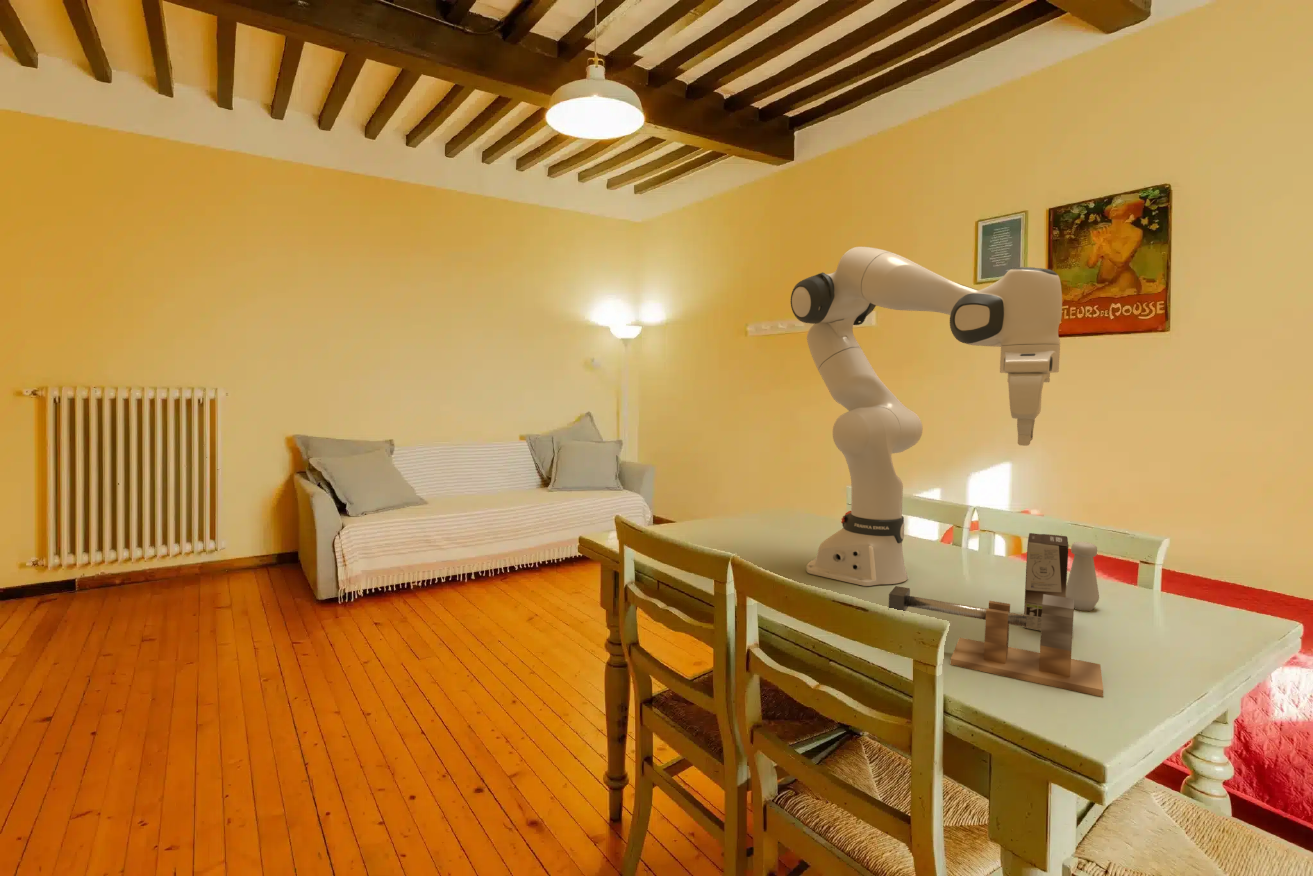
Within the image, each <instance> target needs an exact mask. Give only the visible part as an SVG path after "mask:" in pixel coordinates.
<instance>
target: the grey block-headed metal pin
mask: <svg viewBox="0 0 1313 876" xmlns="http://www.w3.org/2000/svg"><path fill="white" fill-rule="evenodd" d="M889 608H894V609H897V610H903V611H905V612H906V611H907V609H908V608H915V609H920V610H927V611H931V612H936V613H937V612H938V613H945V614H950V615H955V616H960V617H967V618H973V619H978V620H985V621H986V609H987V608H984V607H979V606H971V605H967V604H962V603H961V604H960V603H955V602H950V601H949V602H948V601H942V600H936V599H931V598H926V597H919V596H912V595H911V588H910V587H904V586H900V585H899V586H898V585H895V586H894V587H893V589H892V590H891V591H890V592H889V594H888V609H889ZM1008 624H1009V625H1013V626H1019V627H1023V628H1024V627H1026V624H1027V615H1024V614H1021V613H1014V612H1011V611H1010V612H1008Z"/></svg>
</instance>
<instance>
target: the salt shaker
mask: <svg viewBox="0 0 1313 876" xmlns="http://www.w3.org/2000/svg"><path fill="white" fill-rule="evenodd" d="M1070 551H1071V554H1073V555H1074V557H1073V559H1072V564H1071V568H1070V571H1069V575H1068V577H1067V585H1066V598H1072V599H1074V608H1075V609H1074V610H1077V611H1083V610H1084V611H1086V612H1091V611H1093V610H1094V608H1095V607H1096V605H1097V604H1098V603H1099V601H1100V594H1099V587H1098V580H1097V573H1096V567H1095V561H1094V557H1096V556H1097V555H1098V554H1097V553H1098V547H1097V546H1096V545H1095V544H1094V543H1092V542H1087V541H1075V542H1073V543H1072V544H1071V549H1070Z"/></svg>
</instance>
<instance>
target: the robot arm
mask: <svg viewBox="0 0 1313 876" xmlns="http://www.w3.org/2000/svg"><path fill="white" fill-rule="evenodd" d="M790 307H791V310H792V313H793V315H794V316H795V318H796V319H797V320H798V321H799V322H802V323H805V324H809V325H810V324H811V325H812V324H813V325H812V326H811V327H810V328H809V330H808V331H807V334H806V341H807V346H808V349H809V352H810V355H811V358H812V359H813V362H814V364H815V366H816V369H817V371H818V373H819V375H820V376H821V378H822V381H823V383H824V384H825V386H826V387H827V389H828V391H829V394H830V395H831V397H832V399H833V400H835V402H837V403H838V404H840V405H841V406H842V407H844V408H845V409H846V410H847V411H846V412H844V413H843V414H841V415H839V416H838V418H837V419H836V420H835V422H834V424H833V427H832V439H833V443H834V444H835V446H836V448H837V449H838V450H839V451H840V452H841V453H842V455H843V457H844V458H845V461H846V464H847V467H848V471H849V477H850V481H851V504H850V505H851V507H850V509H851V510H848V511H846V512H845V514H844V515H843V516H842V518H841V521H840V522H841V525H842V527H843V528H841V529H839V530H838V531H836V532H835V533H833V534H831V536H829V537H828V538H826V539H825V540H823V541H822V542H821V543H820V544H819V547H818V549H817V553H816V558H814V559H812V560H811V561H809V562H808V563H807V564H806V569H805V570H806V572H807V574H809V575H814V576H819V577H823V578H828V579H832V580H837V581H842V582H846V583H849V584H853V585H854V584H855V585H860V586H863V587H871V586H876V585H892V584H893V585H894V584H900V583H903V582H905V581H907V580H908V578H909V577H908V573H907V570H906V566H905V559H904V551H903V542H904V538H905V518H904V516H903V494H904V493H903V491H904V489H903V488H904V484H903V481H902V480H901V478H900V477H899V476H898V475H897V473H896V470H895V468H894V464H893V459H892V454H898V453H899V454H900V453H903V452H905V451H907V450H908V449H910V448H913V446H915V445H916V444H917V443H919V441H920V440H921V437H922V435H923V423H922V420H921V418H920V417H919V415H918V414H917V413H916V412H914V411H913V410H911V409H909V408H908V407H907V406H906V405H904V404H903V403H902V401H900V400H899V399H898V397H896V395H895V394H894V393H893V392H892V391H891V390H890V389H889V388H888V387H887V385H886V384H885V383H884V382H883V381H882V380H881V378H880V377H879V376H878V374H877V373H876V371H875V369H874V368H873V365H871V363H870V361H869V359H868V357H867V356H866V354H865V351H863V349H862V347H861V346H860V343H859V342H858V341H857V339H856V336H855V335H854V331H853V328H854V326H859V325H862V324H863V323H864V322H865V321H866V318H867V316H869V315H870V314H871V313H872V312H873V311H874V310H875V309H876V307H879V308H884V309H887V310H888V309H890V310H895V311H911V312H912V311H915V312H931V313H932V312H933V313H941V314H945V315H947V316H948V315H949V329H950V332H951V334H952V335H953V337H954V338H955V339H956V340H957V341H958V342H959V343H960V342H961V343H963V344H966V345H969V346H981V347H993V348H994V347H998V348H1000V360H999V373H1001V374H1007V384H1008V399H1009V410H1010V416H1011V418H1012V419H1016V420H1017V421H1016V427H1017V428H1016V429H1017V430H1016V431H1017V444H1018V445H1019V446H1026V447H1027V446H1030V444H1031V441H1032V440H1033V439H1034V428H1035V424H1036V422H1035V421H1036V419H1037V418H1038V416H1039V414H1041V409H1042V394H1043V393H1042V392H1043V386H1044V383H1050V382H1051V379H1050V377H1051V373H1059V372H1060V359H1061V358H1060V355H1061V341H1060V336H1059V326H1060V323H1061V321H1062V317H1063V293H1062V283H1061V278H1060V276H1059V274H1058V273H1057V272H1055V271H1054V270H1051V269H1049V268H1043V267H1039V268H1038V267H1031V266H1030V267H1029V266H1028V267H1026V266H1021V267H1020V266H1018V267H1014V268H1011V269H1009V270H1008V271H1007V272H1006V273H1005V274H1004V275H1003V276H1002V277H1001V278H1000V279H998V280H997V281H995V282H994V283H991V284H990V285H988V286H986V287H983V288H981V289H976V288H972V287H969V286H966V285H965V284H960V283H959V282H955V281H953V280H950V279H949V278H946V277H944V276H942V275H941V274H938V273H936V272H934V271H932V270H930V269H929V268H926V267H924V266H923V265H920V263H917V262H914V261H913V260H910V259H909V258H907V257H904V256H902V255H900V254H897V253H894V252H892V251H889V250H885V249H881V248H877V247H871V246H870V247H869V246H855V247H852V248H850V249H849V250H847V251H846V252H845V253H844V254H843V255H842V256H841V258H840V259H839V261H838V264H837V267H836V269H835V271H834V272H832V273H825V272H819V273H818V274H815V275H812V276H809V277H806V278H804V279H802V280H800V281H799V282H797V283H796V284H795V286H794V287H793V289H792V292H791V294H790Z"/></svg>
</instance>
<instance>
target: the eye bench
mask: <svg viewBox="0 0 1313 876" xmlns="http://www.w3.org/2000/svg"><path fill="white" fill-rule="evenodd" d="M1074 611H1075V609H1074V599H1072V598H1066V597H1059V596H1052V595H1045V594H1043V602H1042V620H1041V631H1040V639H1039V640H1040V643H1039V651H1038V652H1036V651H1033V650H1028V649H1023V648H1016V647H1011V646H1009V638H1010V637H1009V636H1010V635H1009V634H1010V624H1008V612H1010V613H1011V603H1007V602H1006V603H1005V602H1001V601H995V600H989V601H988V607H987V608H986V620H985V621H984V622H985V624H984V625H985V626H984V627H985V628H984V641H980V640H974V639H969V638H963V637H959V638H958V641H957V643H956V645H955V647H954V650H953V652H952V655H951V657H950V666H954V665H957V666H956V667H960V668H964V667H965V669H969V670H973V669H974V671H978V670H980V671H979V672H984V673H989V674H993V675H997V676H1002V677H1008V678H1012V679H1016V680H1021V681H1026V682H1030V683H1036V684H1040V685H1044V686H1048V687H1049V686H1050V687H1053V688H1054V687H1055V688H1060V689H1064V690H1068V691H1073V692H1078V693H1082V694H1088V695H1093V696H1097V697H1101V698H1103V697H1104V685H1103V675H1102V665H1101V664H1100V663H1095V662H1092V661H1087V660H1086V661H1084V660H1079V659H1074V658H1072V651H1073V650H1072V649H1073V634H1074V633H1073V632H1074V631H1073V630H1074V615H1075V614H1074Z"/></svg>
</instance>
